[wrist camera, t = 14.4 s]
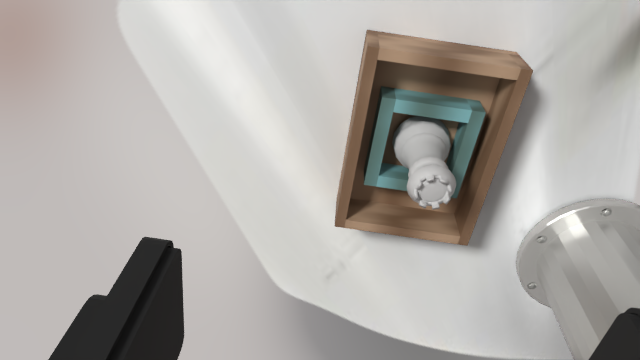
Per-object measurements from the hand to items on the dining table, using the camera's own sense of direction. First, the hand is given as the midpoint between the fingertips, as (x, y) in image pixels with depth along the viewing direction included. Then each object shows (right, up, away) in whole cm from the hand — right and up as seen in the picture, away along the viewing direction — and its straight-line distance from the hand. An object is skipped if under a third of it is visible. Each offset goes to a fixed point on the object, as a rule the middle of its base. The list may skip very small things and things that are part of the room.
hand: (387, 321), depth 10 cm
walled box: (+6, +7, +29) cm, 30 cm away
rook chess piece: (+6, +7, +28) cm, 30 cm away
